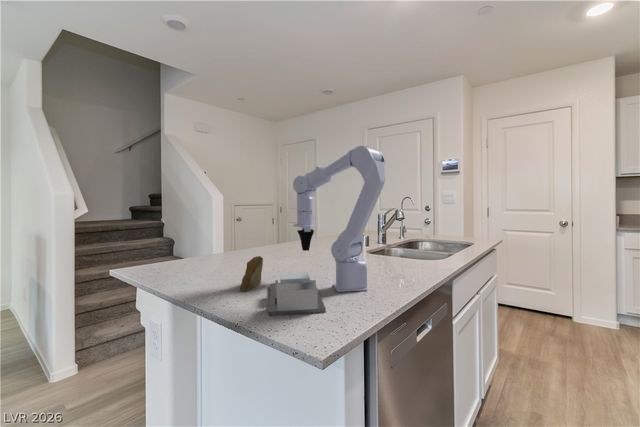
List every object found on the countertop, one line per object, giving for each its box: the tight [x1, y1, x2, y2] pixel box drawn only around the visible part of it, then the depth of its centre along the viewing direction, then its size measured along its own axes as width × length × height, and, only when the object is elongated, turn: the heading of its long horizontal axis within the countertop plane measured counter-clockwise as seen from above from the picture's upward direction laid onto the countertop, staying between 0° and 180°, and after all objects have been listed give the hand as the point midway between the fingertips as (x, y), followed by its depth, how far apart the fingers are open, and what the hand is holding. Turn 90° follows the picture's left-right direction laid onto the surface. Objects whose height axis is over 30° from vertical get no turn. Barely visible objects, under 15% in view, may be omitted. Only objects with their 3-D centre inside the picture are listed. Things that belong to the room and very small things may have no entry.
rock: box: [239, 255, 264, 292], centre depth 99 cm, size 11×9×10 cm
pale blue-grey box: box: [279, 271, 317, 286], centre depth 86 cm, size 10×9×5 cm
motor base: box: [268, 279, 327, 317], centre depth 88 cm, size 14×25×6 cm, turn 8°
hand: (305, 250), depth 106 cm, fingers closed
